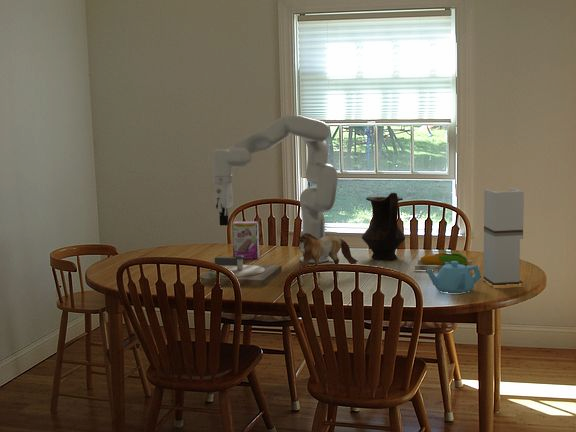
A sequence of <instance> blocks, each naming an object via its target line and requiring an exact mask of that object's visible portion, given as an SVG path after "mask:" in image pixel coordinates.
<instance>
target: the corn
mask: <svg viewBox="0 0 576 432" xmlns="http://www.w3.org/2000/svg"><path fill="white" fill-rule="evenodd" d="M420 259H421V261H422V262H424V263H427V264H426V265H440V266H444V265H445V262H449V264H451V261H458V264H461V265H465V266H467V264H468V261H469V260H468V259H467V257H466V256H465V255H464V254H462V253H461V252H458V251H457V252H456V251H452V250H451V251H450V250H435V251H433V253H432V254H424V255H423V256H422V257H420Z"/></svg>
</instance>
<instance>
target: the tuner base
mask: <svg viewBox="0 0 576 432" xmlns="http://www.w3.org/2000/svg"><path fill="white" fill-rule="evenodd" d="M221 266H224V267H226V268H227V269H229V270H230V271H232V272H233V273H234V274H235V276H236V277H237V279H238V281H239V283H240V285H241V286H242V287H265V286H266V285H267V284H268V283H270V282H271V281H272V280H273V279H274V278H276V277H277V276H278V275H279V274H281V271H283V270H282V265H280V264H278V265H277V264H274V265H273V264H244V263H243V270H237V266H227V265H221ZM199 276H200V279H201V282H202V283H203V284H202V285H204V286H205V285H207V286H208V285H210V286H212V285H214V286H216V285H215V283H216V272H215V271H212V270H209V269H208V270H207V271H205V272H204V273H202V274H201V275H199ZM219 286H233V285H232V283H231V281H230V279H229V278H228V277H226V276H225V275H223V274H221V273H220V285H219ZM241 286H240V287H241Z"/></svg>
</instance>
